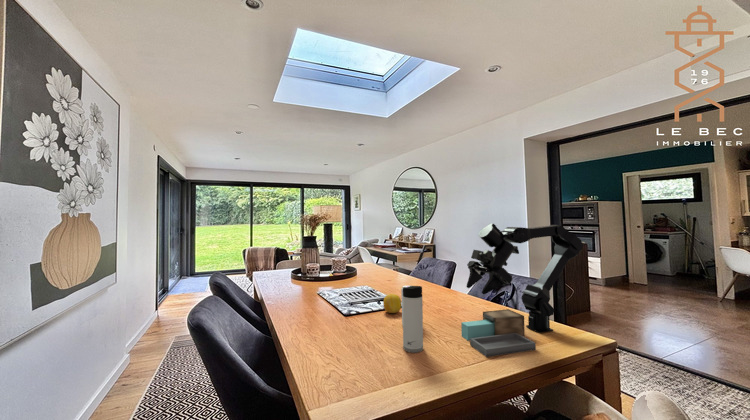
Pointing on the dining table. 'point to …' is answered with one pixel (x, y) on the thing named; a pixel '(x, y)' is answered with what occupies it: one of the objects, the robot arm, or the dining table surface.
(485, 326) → the teal long block
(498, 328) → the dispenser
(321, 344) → the dining table surface
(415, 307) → the travel mug
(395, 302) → the fruit
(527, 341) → the tray
